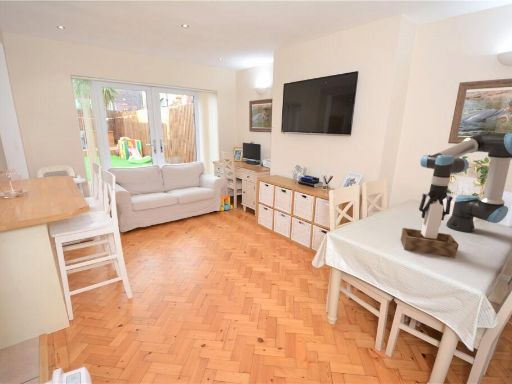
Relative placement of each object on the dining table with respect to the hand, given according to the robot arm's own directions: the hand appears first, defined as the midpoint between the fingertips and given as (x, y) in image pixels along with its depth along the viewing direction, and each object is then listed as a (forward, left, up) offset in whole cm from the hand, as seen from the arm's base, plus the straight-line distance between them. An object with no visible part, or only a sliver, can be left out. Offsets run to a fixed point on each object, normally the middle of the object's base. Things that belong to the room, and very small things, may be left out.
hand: (430, 224), depth 141 cm
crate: (0, 0, -15) cm, 15 cm away
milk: (0, 0, -7) cm, 7 cm away
